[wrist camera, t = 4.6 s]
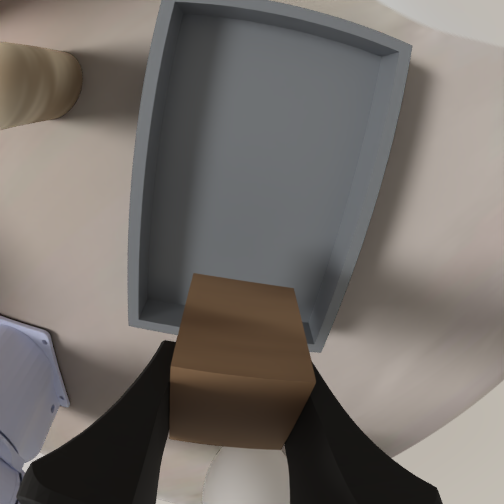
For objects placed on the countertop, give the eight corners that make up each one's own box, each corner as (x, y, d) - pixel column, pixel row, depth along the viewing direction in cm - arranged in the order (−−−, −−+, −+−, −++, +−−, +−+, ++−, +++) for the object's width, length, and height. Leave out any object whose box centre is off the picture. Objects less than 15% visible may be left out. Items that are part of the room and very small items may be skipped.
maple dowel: (77, 120, 14) (17, 132, 10) (23, 119, 14) (-39, 134, 9) (88, 49, 13) (30, 35, 8) (32, 54, 12) (-31, 49, 7)
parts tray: (313, 326, 21) (320, 352, 18) (139, 301, 19) (128, 325, 17) (390, 51, 13) (412, 45, 11) (175, 5, 12) (164, -11, 10)
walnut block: (271, 358, 15) (280, 449, 10) (185, 347, 14) (169, 439, 10) (293, 288, 13) (316, 382, 8) (193, 273, 13) (170, 365, 8)
